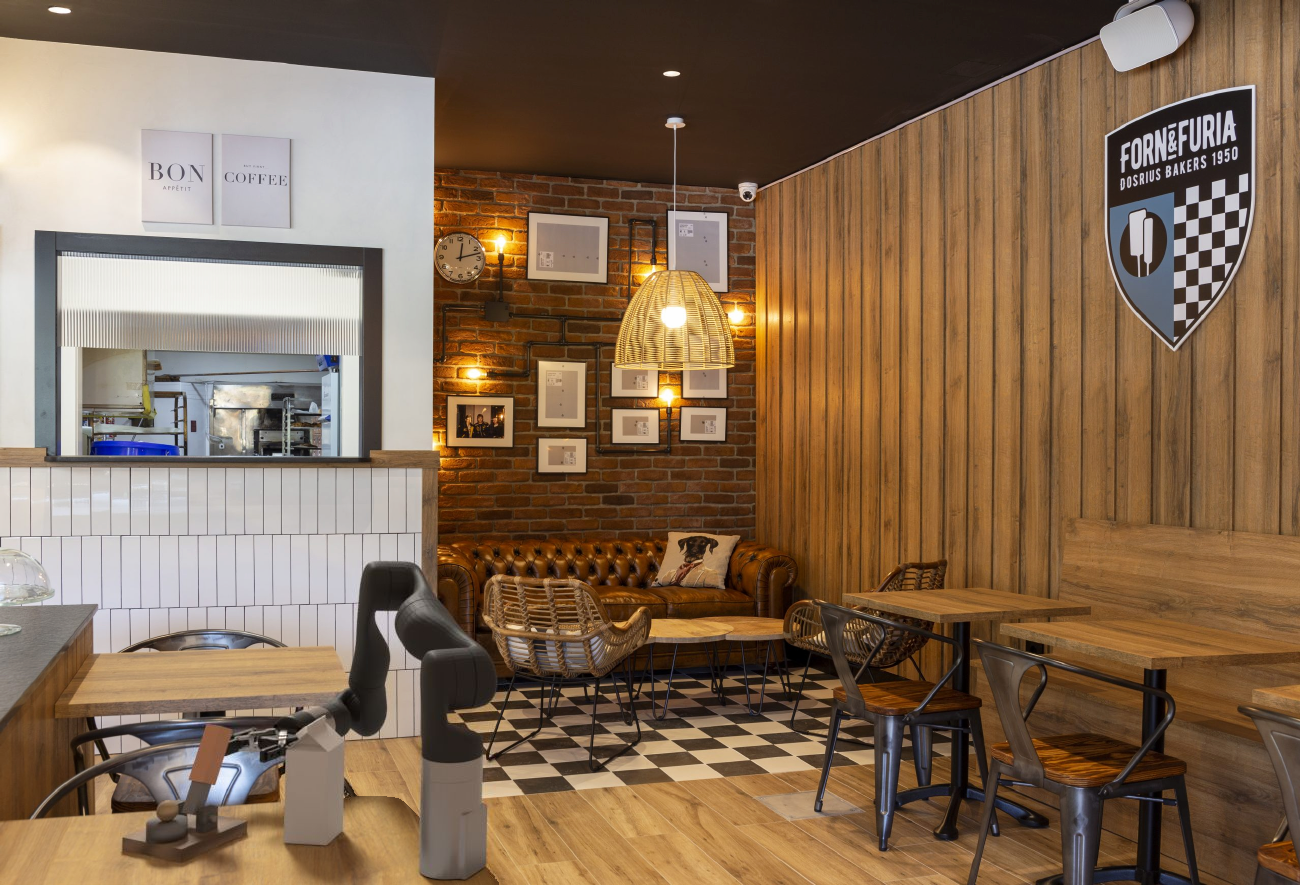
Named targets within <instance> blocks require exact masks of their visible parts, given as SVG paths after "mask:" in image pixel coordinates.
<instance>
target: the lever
mask: <svg viewBox="0 0 1300 885" xmlns="http://www.w3.org/2000/svg"><path fill="white" fill-rule="evenodd" d="M231 734H233V729H232V728H228V727H225V726H223V725H217V724H211V723H206V725H205V728H204V731H203V735H202V737H201V739H200V744H199V745H198V750H197V752H196V756H195V759H194V761H193V764H192V768H191V770H190V774H189V776H188V781H191V782H190V785H189V789H188V792H187V795H186V797H185V799H184V800H185V803H184V806H183V809H182V812H181V813H186V814H191V815H196V810H198V809H200V808H203V807H205V806H206V803H207V800H208V798H209V797H208V796H209V794H210V791H211V788H212V786H216V784H217V782H218V781H217V780H218V778H219V775H220V771H221V768H222V766H223V765H222V764H223V761H224V758H225V757H226V756H225V753H226V749H227V746H228V743H229V740H230V737H231ZM224 756H225V757H224Z"/></svg>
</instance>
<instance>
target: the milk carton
mask: <svg viewBox="0 0 1300 885" xmlns="http://www.w3.org/2000/svg"><path fill="white" fill-rule="evenodd" d="M325 720H326V715H324V716H322V717H321V718H319V719H318V720H316V721H314V722H313V723H311V724H309V725H308V726H306V727H304V728H303V729H301V730H300V731H299V732H297V733H296V736H297V737H298V739H299V740H297V741H296V742H295V743H294V744H293V745H291V746H290V747H289V748H288V749H287V750H286V757H285V770H284V771H285V775H284V778H285V779H284V781H285V782H284V814H283V815H284V816H283V819H284V820H283V822H284V823H283V824H284V825H283V844H297V845H310V846H311V845H312V846H314V845H315V846H328V845H329V844H330V843H331V842H332V841H333V840H334V839H335V838H337V837H338V836H339V835H340V834H341V833H342V832H343V831H344V796H345V795H344V793H345V788H344V787H345V752H346V751H345V749H346V747H345V746H346V740H345V738H343V737H341V736H340V735H339V734H338V733H337V732H335V731H334V730H333V729H332V728H331V727H330V726H329V725H328V724H327V723H326V722H325Z"/></svg>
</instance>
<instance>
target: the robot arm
mask: <svg viewBox="0 0 1300 885" xmlns="http://www.w3.org/2000/svg"><path fill="white" fill-rule="evenodd" d="M358 589H359V591H358V600H357V601H358V602H357V603H358V605H357V617H356V631H355V633H356V634H355V646H354V652H353V658H352V661H351V665H350V666H351V667H350V671H349V676H348V680H347V681H348V683H347V684H348V687H347V688H345V689H343V690H341V692H339V694H337V695H336V696H335V697H334V698H332V699H331V700H329V702H326V703H325V704H322V705H318V706H315V707H309V708H305V709H301V710H300V711H296V712H293V713H289V714H287V715H283V716H281V717H280V718H278V719H277V721H275V723H274V725H273V727H270V728H265V729H264V730H258V728H256V727H251V728H248V729H244V730H241V731H238V732H234V733H232V734H231V737H230V740H229V743H228V746H227V749H226V753H225V756H224V758H225V757H228V756H231V755H233V754H236V753H240V752H247V751H248V752H249V753H251V754H252V753H253V754H254V753H259V763H263V764H266V763H268V762H271V761H274V760H276V759H280V760H283V759H286V750H287V749H288V748H289V747H290V746H291V745H293V744H294V743H295V742H296V741H297V740H299V739H298V737H297V736H296V733H297V732H299V731H300V730H301V729H303V728H304V727H306V726H308V725H309V724H311V723H313V722H314V721H316V720H318V719H319V718H321V717H322V716H324V715H326V720H325V722H326V723H327V724H328V725H329V726H330V727H331V728H332V729H333V730H334V731H335V732H337V733H338V734H339V735H340V736H341V737H342V738H343V737H345V736H347V735H348V733H349V732H350V730H352V731H353V732H355V733H356V734H357V735H359V736H361V737H364V738H365V737H372V736H374V735H376V734H378V733H379V732H380V730H381V729H382V728H383V726H384V724H385V722H386V719H387V714H388V701H387V691H386V690H387V689H386V681H387V677H388V673H389V668H390V666H391V665H390V664H391V652H390V648H389V646H388V643H387V641H386V640H385V637H384V635H383V633H381V630H380V629H379V626H378V624H377V620H376V612H396V613H395V618H394V624H393V625H394V630H395V633H396V635H397V639H398V640H399V641H400V643H401V644H402V647H404V649H405V650H406V651H407V653H409V655H411V656H412V657H413V658H414V659H417V660H418V661H421V664H420V670H419V671H420V672H419V687H420V688H419V689H420V735H421V738H420V739H421V756H420V757H421V759H420V760H421V761H420V763H421V765H420V797H419V798H420V803H419V804H420V806H419V843H418V844H419V847H418V848H419V850H418V851H419V853H418V871H419V873H420V874H421V875H422V876H425V877H428V878H430V879H436V880H459V879H460V880H467V879H469V878H470V877H472V876H473V875H475V874H476V873H477V872H479V871H481V870H482V869H484V868H485V867H486V866H487V847H488V846H487V844H488V843H487V842H488V841H487V840H488V833H487V832H488V804H487V803H485V802H483V776H484V775H483V772H484V769H483V768H484V766H483V765H484V740H483V739H484V738H483V736H482V735H481V734H480V733H479V732H478V731H475V730H473V729H470V728H465V727H462V726H458V725H455V724H454V723H451V722H450V721H448V720H449V719H448V714H447V713H448V712H452V711H463V710H472V709H478V708H482V707H484V706H487V705H488V704H490V702H492V700H493V699H494V697H495V695H496V693H497V689H498V674H497V670H496V667H495V664H494V662H493V659H492V658H491V656H490V654H489V653H488V651H487V650H486V649H485V648H484V647H483V646H482V645H481V644H480V643H478V642H477V641H475V640H474V639H473V638H472V637H471V636H469V634H467V632H465V631H464V630H463V629H462V627H461V626H460V625H459V624H458V622H456V620H455V619H454V617H453V616H452V614H451V613H450V611H448V609H447V608H446V606H444V604H443V603H442V602H441V601H440V599H438V598H437V595H436V594H435V592H434V591H433V590H432V588H431V586H430V584H429V582H428V580H427V578H426V576H425V574H424V572H423V570H422V569H421V567H420V566H419V565H418V564H417V563H414V562H412V561H406V560H404V561H401V560H399V561H398V560H375V561H370V562H368V563H367V564H366V565H365V566H364V568H363V571H362V574H361V578H360V584H359V588H358ZM256 743H257V747H255V744H256Z"/></svg>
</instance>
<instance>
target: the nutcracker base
mask: <svg viewBox="0 0 1300 885" xmlns="http://www.w3.org/2000/svg"><path fill="white" fill-rule="evenodd" d="M185 800H186V799H181V798H179V799H175V800H172V799H166V800H164V801H162V802H160V803H159V804H158V805H157V807H156V810H155V812H156V813H155V814H156V816H155V817H152V818H150V819H148V820H147V821H145V822H146V823H145V828H143V829H140V830H137V831H135V832H132V833H130V834H128V835H125V836H122V840H121V841H122V843H121V851H123V852H124V851H125V852H128V853H129V852H130V853H133V854H138V855H143V856H148V857H153V858H157V859H162V860H167V861H170V862H171V861H172V862H177V863H183V862H185V861H189V860H190V859H193V858H194V857H197V856H199V855H202V854H204V853H206V852H208V851H210V850H212V849H215V848H217V847H219V846H221V844H222V845H223V843H224V844H226V843H228V842H231V841H233V840H235V839H237V838H240V837H241V835H242V836H244V835H246V834H248V820H245V819H244V820H243V819H239V818H238V819H237V818H233V817H229V816H228V817H227V816H222V815H219V806H218V805H215V804H208V805H205V807H203V808H200V809H198V810H196V815H191V814H186V813H181V812H182V809H183V806H184V803H185ZM239 836H240V837H239ZM230 840H231V841H230ZM225 842H226V843H225ZM218 845H219V846H218Z"/></svg>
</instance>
